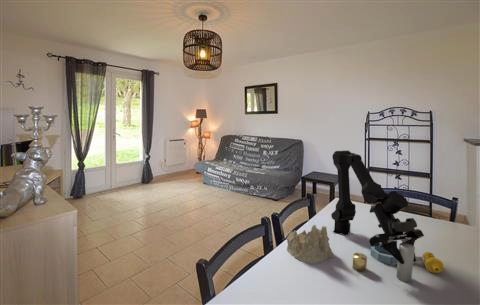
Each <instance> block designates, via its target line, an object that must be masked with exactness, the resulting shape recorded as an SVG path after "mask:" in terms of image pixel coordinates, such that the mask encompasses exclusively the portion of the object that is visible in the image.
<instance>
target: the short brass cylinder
mask: <svg viewBox="0 0 480 305" xmlns="http://www.w3.org/2000/svg"><path fill="white" fill-rule="evenodd" d="M367 266H368V257H367V255H365V254H364V253H361V252H355V253H353V256H352V270H354V271H355V272H358V273H361V274H362V273H365V272H367Z"/></svg>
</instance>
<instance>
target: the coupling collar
mask: <svg viewBox="0 0 480 305" xmlns="http://www.w3.org/2000/svg"><path fill="white" fill-rule="evenodd" d="M380 246H382V243H379V246H374V247H371V246H370V253H369V254H370V256H371V258H373V259H375V260H376V261H377V262H380V263H383V264H387V265H398V260H397V259H395V258H394V257H393V256H392V255H391V254H386V253H388V252H387V251H386V250H385V249H384V248H381V247H380ZM398 250H399V248H398ZM382 252H385V253H382Z"/></svg>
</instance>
